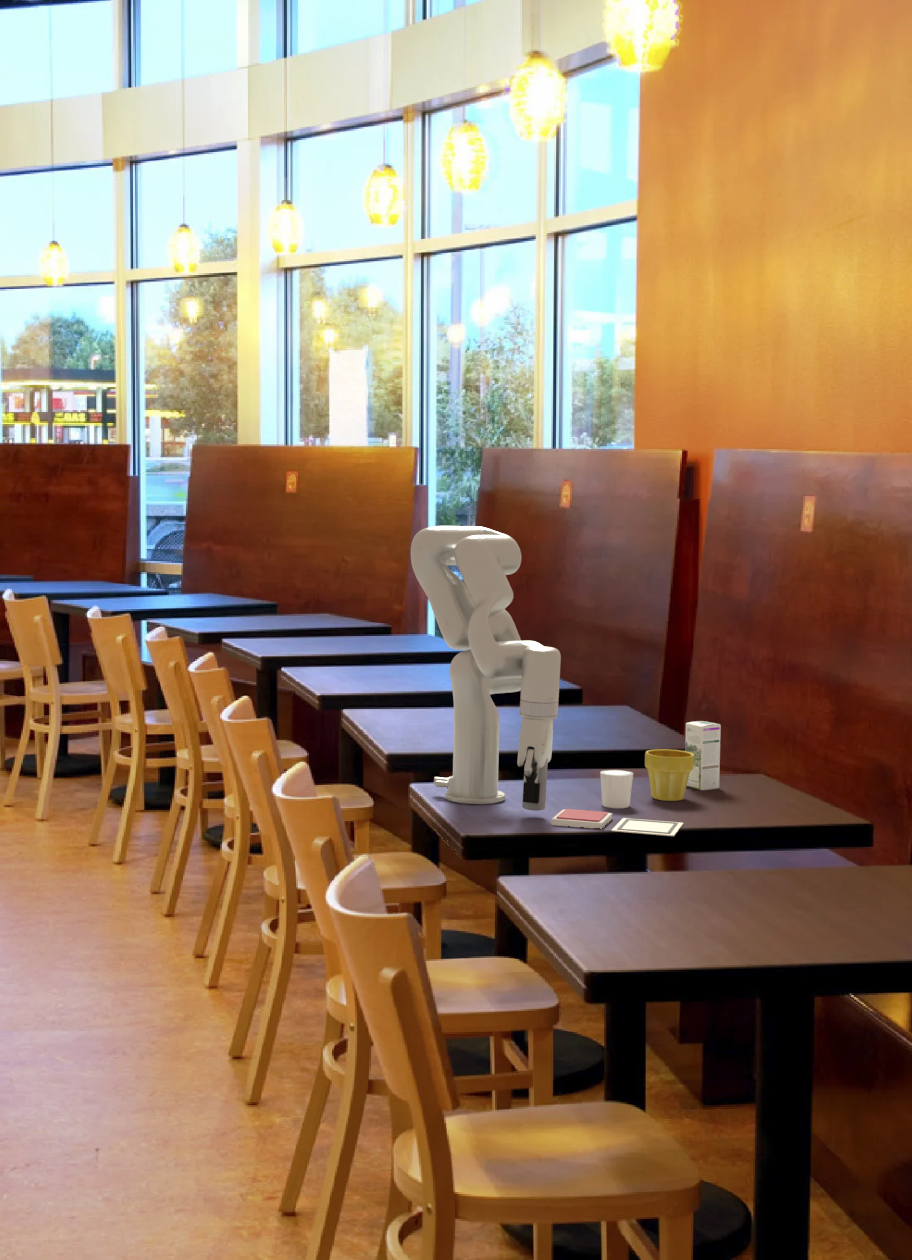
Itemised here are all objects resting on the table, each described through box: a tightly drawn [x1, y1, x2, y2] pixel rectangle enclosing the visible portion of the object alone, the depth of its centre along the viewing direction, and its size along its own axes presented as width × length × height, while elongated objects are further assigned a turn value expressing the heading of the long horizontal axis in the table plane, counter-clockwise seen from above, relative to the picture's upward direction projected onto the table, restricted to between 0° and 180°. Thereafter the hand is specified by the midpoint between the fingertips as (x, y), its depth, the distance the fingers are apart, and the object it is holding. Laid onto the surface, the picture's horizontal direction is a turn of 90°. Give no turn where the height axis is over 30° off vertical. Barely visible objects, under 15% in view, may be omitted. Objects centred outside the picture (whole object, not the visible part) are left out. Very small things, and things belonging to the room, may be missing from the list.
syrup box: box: [684, 720, 722, 791], centre depth 339 cm, size 6×6×14 cm
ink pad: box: [550, 808, 613, 830], centre depth 300 cm, size 10×10×2 cm
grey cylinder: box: [522, 758, 549, 812], centre depth 303 cm, size 4×4×10 cm
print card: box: [610, 817, 684, 837], centre depth 297 cm, size 12×12×1 cm
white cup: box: [599, 769, 634, 809], centre depth 318 cm, size 7×7×7 cm
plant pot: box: [644, 748, 694, 802], centre depth 326 cm, size 10×10×10 cm
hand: (534, 798), depth 304 cm, fingers closed on grey cylinder, 4 cm apart
